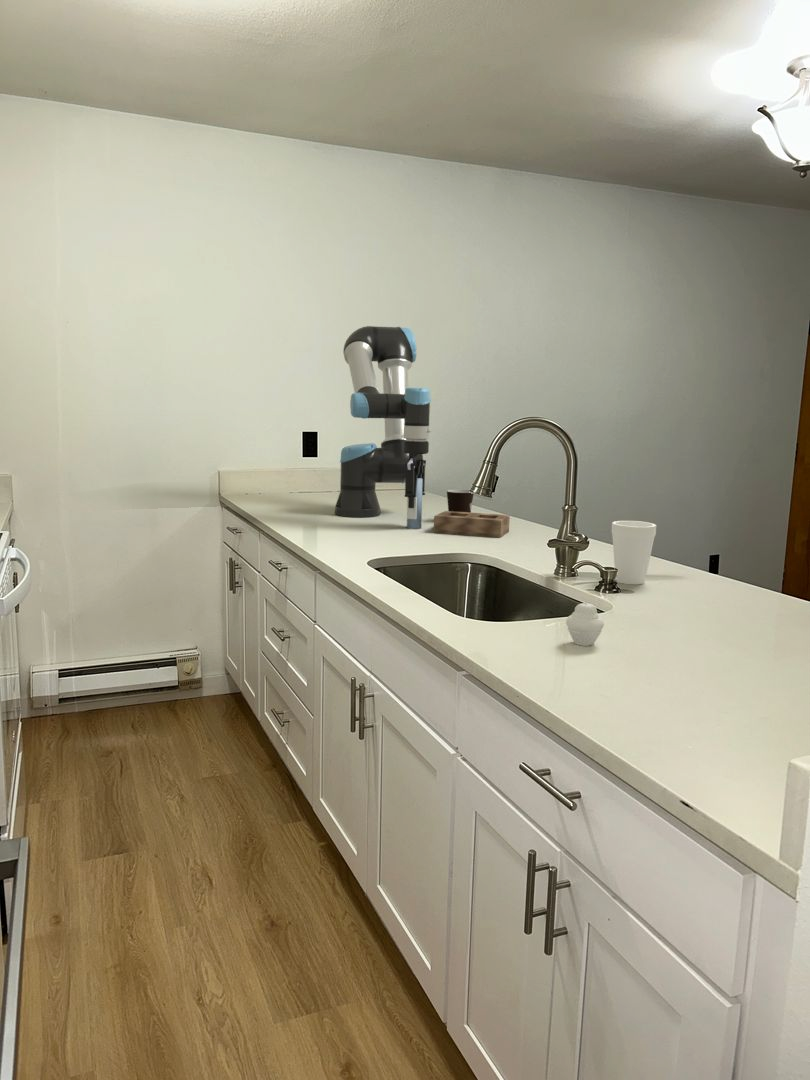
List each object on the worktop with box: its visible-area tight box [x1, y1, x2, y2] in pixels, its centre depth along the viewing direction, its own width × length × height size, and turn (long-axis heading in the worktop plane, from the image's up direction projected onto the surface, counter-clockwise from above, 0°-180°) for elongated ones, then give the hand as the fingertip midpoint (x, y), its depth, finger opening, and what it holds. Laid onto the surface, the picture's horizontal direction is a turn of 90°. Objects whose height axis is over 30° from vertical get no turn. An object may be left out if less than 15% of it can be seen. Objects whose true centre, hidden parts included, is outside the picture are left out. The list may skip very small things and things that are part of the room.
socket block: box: [433, 510, 511, 539], centre depth 251 cm, size 20×12×5 cm, turn 72°
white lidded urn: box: [565, 602, 605, 647], centre depth 141 cm, size 6×6×7 cm
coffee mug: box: [446, 489, 474, 513], centre depth 271 cm, size 12×9×10 cm
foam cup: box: [611, 520, 657, 585], centre depth 189 cm, size 10×9×13 cm
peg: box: [406, 478, 423, 530], centre depth 256 cm, size 4×4×15 cm
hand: (414, 517), depth 257 cm, fingers closed on peg, 4 cm apart
